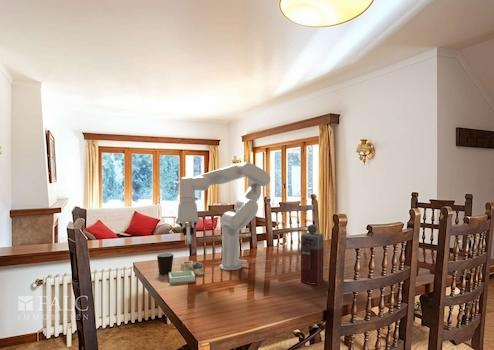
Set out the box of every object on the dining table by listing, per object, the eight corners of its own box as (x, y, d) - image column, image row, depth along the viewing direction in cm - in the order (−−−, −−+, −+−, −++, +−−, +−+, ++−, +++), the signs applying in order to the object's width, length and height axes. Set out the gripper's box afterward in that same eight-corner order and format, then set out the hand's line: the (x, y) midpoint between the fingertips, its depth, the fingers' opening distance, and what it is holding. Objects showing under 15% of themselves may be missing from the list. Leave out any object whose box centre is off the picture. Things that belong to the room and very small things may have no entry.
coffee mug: (169, 276, 173) (169, 257, 173) (153, 275, 174) (154, 256, 174) (178, 270, 184) (178, 251, 184) (163, 269, 186) (163, 251, 186)
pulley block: (201, 270, 183) (201, 259, 183) (203, 274, 176) (203, 263, 176) (180, 272, 180) (180, 261, 180) (182, 276, 173) (182, 264, 173)
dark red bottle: (298, 283, 162) (299, 225, 162) (306, 277, 172) (306, 222, 172) (317, 286, 158) (317, 227, 158) (323, 280, 167) (323, 224, 167)
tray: (192, 276, 173) (192, 270, 173) (194, 281, 164) (195, 275, 164) (168, 278, 170) (168, 272, 170) (169, 284, 160) (169, 277, 160)
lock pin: (191, 243, 179) (190, 222, 179) (191, 244, 176) (191, 223, 176) (184, 243, 178) (184, 222, 178) (185, 244, 175) (185, 223, 175)
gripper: (201, 199, 183) (202, 232, 183) (171, 200, 178) (171, 234, 178) (204, 200, 176) (204, 235, 176) (172, 201, 171) (172, 237, 171)
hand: (188, 234), depth 177 cm, fingers closed on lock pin, 3 cm apart
